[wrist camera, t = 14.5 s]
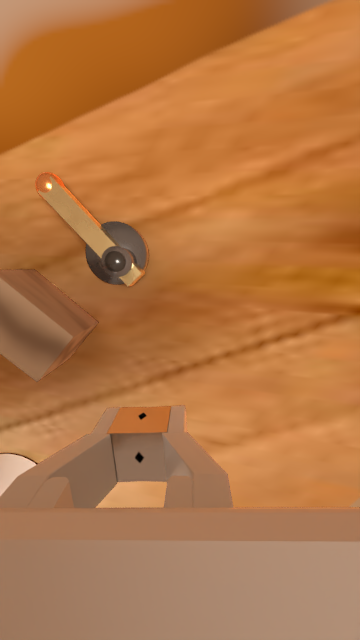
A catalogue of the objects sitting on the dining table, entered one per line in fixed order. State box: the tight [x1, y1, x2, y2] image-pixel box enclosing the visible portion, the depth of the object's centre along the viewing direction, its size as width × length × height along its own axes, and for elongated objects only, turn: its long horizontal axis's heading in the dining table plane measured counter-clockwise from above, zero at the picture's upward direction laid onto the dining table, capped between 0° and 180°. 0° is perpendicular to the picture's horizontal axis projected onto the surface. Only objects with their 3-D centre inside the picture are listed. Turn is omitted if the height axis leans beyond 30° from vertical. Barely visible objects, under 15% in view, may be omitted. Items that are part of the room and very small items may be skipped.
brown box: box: [0, 270, 99, 382], centre depth 33 cm, size 8×14×8 cm, turn 49°
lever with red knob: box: [35, 172, 149, 287], centre depth 31 cm, size 17×8×6 cm, turn 43°
